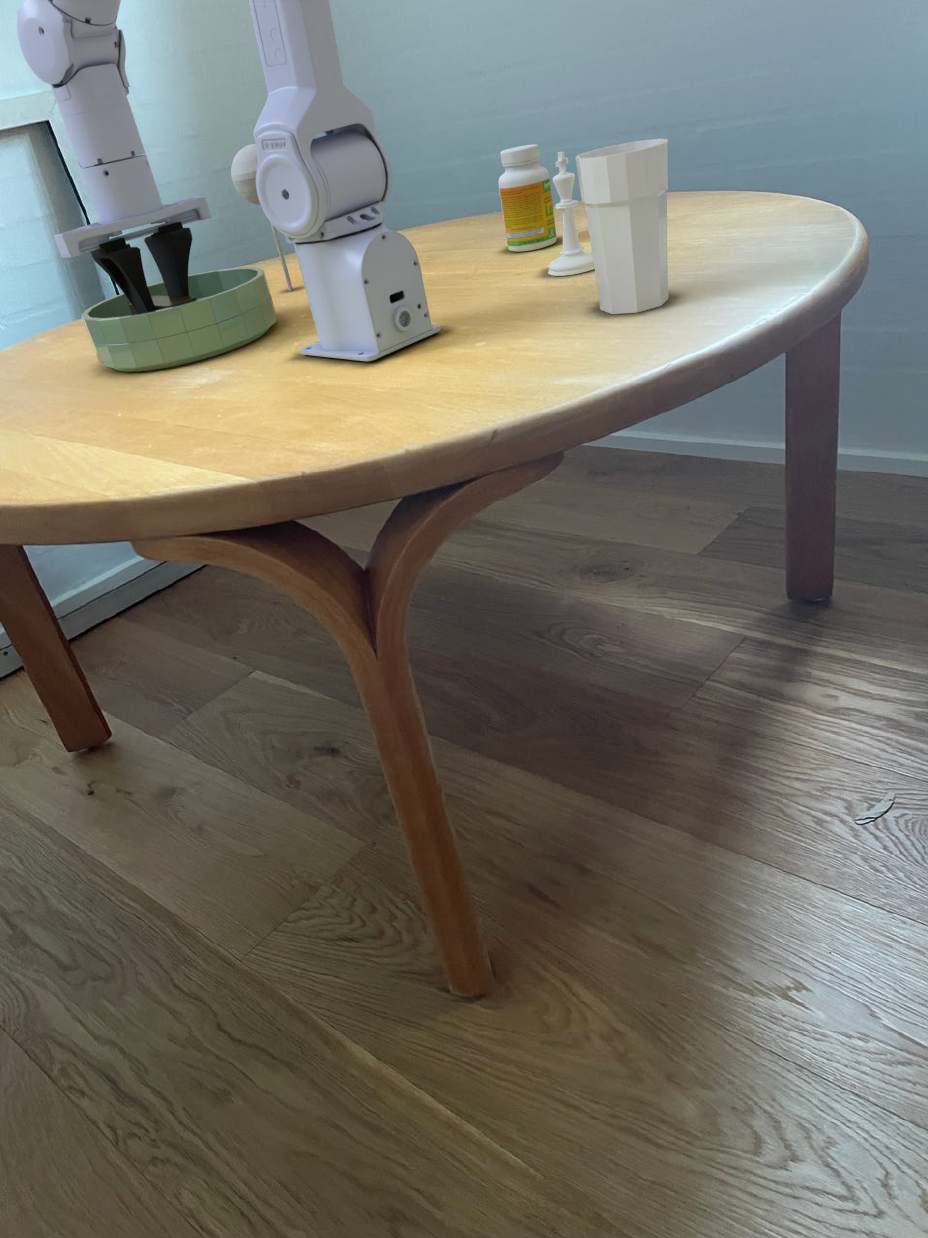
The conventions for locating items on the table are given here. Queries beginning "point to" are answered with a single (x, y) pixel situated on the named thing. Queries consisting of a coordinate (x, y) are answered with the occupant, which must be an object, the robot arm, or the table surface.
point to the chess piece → (568, 227)
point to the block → (166, 302)
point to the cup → (627, 222)
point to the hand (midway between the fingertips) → (167, 317)
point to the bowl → (183, 322)
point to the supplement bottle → (526, 200)
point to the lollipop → (252, 188)
